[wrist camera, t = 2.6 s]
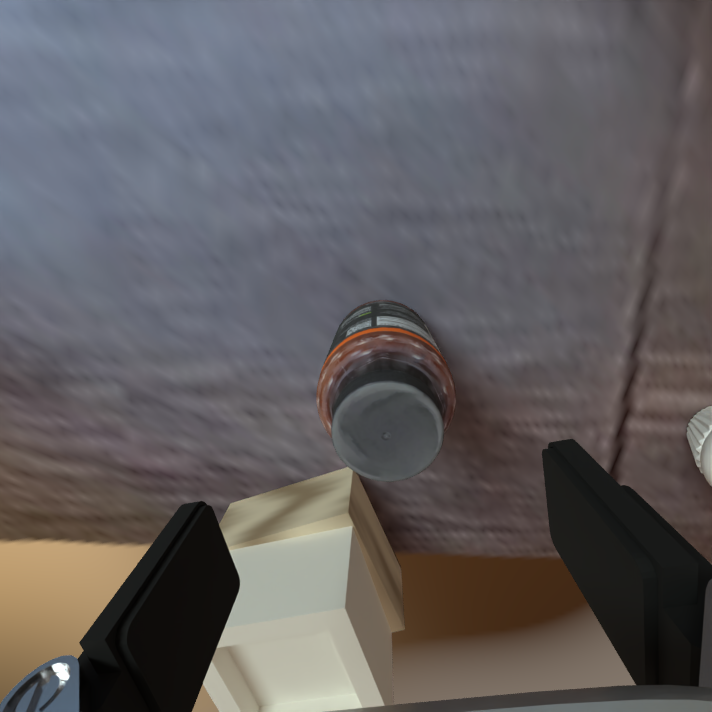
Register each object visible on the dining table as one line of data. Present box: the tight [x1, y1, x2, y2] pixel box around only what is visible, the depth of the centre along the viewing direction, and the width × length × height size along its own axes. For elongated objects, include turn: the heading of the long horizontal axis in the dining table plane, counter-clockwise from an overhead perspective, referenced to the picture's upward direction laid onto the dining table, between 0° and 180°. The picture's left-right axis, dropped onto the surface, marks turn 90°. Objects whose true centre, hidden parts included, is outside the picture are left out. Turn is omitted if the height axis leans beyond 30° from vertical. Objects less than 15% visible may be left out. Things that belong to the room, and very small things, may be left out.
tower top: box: [203, 526, 394, 712], centre depth 22 cm, size 9×9×5 cm
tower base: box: [219, 467, 405, 633], centre depth 27 cm, size 10×10×5 cm
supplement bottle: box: [317, 300, 456, 482], centre depth 18 cm, size 6×6×11 cm
